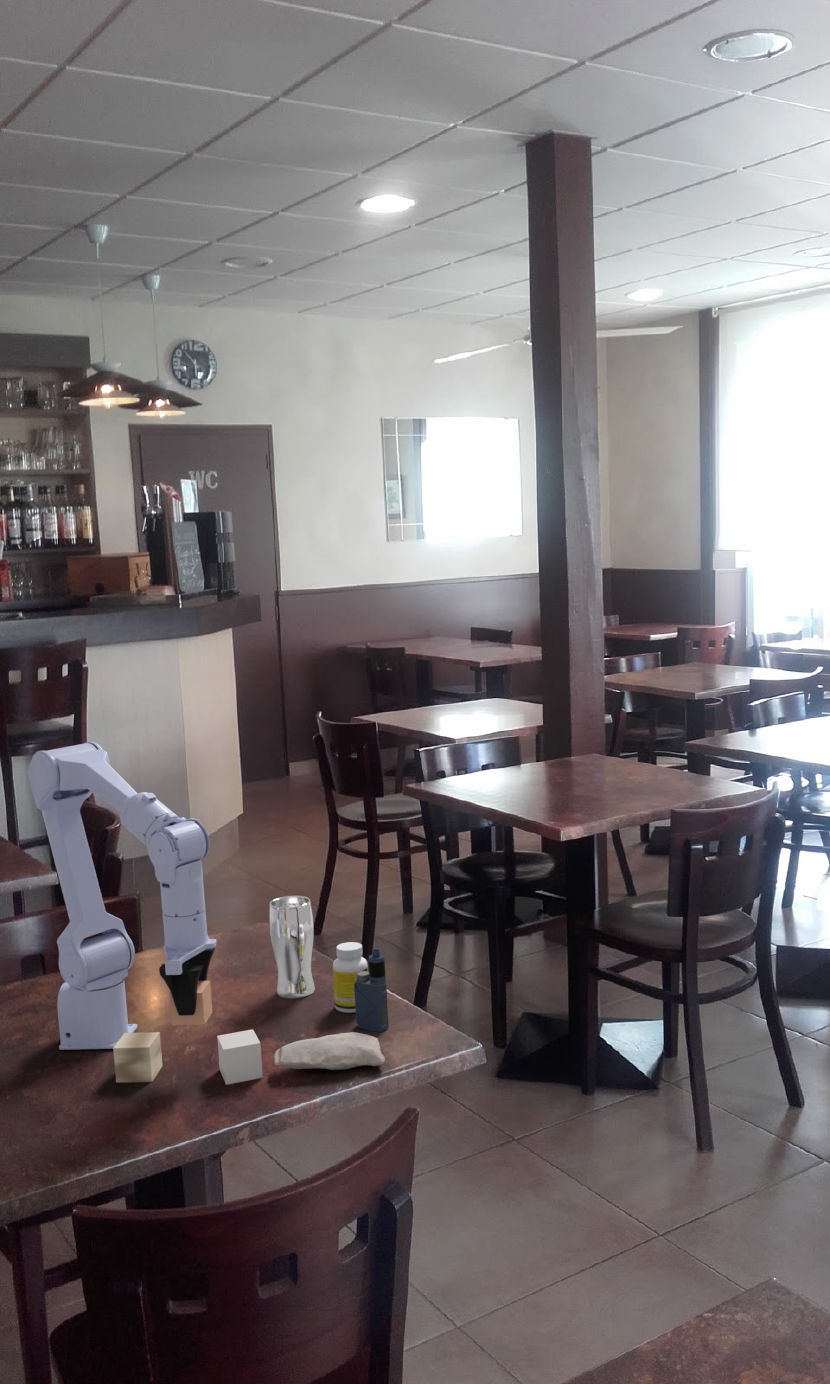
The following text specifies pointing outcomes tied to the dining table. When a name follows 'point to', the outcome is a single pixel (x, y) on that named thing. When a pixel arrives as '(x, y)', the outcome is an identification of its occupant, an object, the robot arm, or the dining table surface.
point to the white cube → (239, 1056)
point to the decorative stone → (331, 1052)
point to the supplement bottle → (347, 975)
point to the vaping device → (372, 995)
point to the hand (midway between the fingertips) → (191, 1007)
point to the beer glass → (292, 945)
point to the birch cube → (137, 1057)
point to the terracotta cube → (201, 1010)
